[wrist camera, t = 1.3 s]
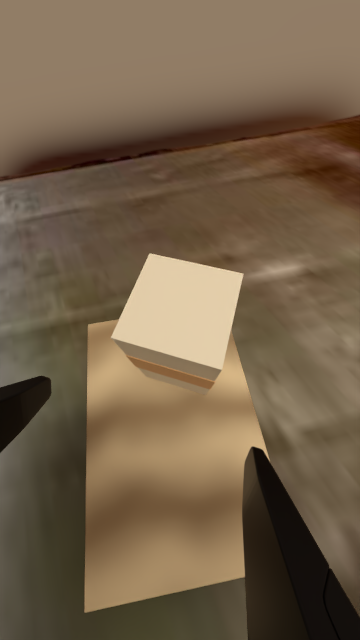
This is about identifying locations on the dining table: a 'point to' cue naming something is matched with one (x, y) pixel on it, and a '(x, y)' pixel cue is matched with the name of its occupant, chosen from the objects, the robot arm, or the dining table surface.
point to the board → (162, 477)
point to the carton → (179, 321)
